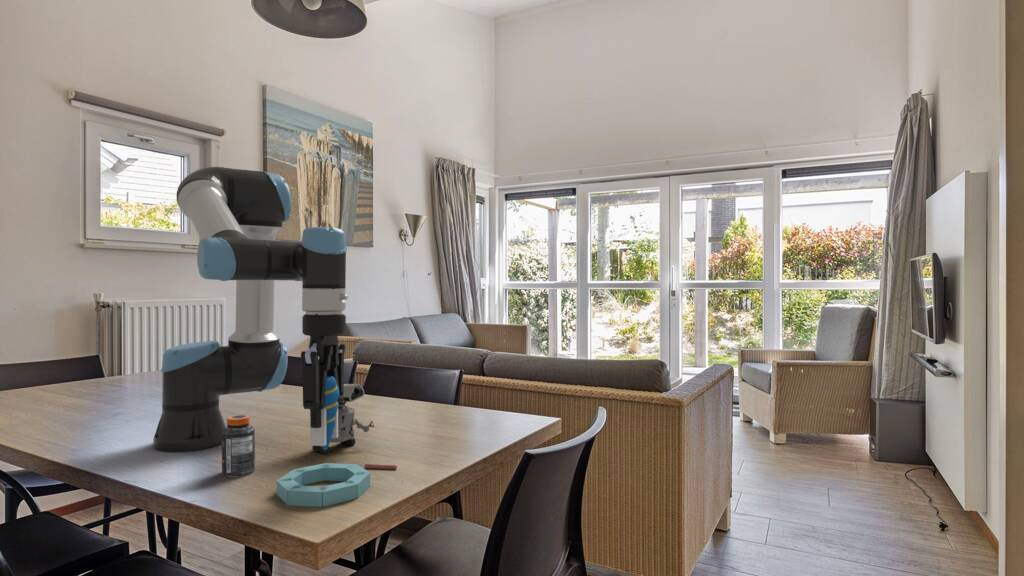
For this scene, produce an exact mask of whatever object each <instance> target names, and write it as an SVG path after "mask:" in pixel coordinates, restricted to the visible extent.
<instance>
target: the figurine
mask: <svg viewBox="0 0 1024 576" xmlns="http://www.w3.org/2000/svg"><path fill="white" fill-rule="evenodd" d="M340 397H344V400H343V401H342V402H340V401H337V402H338V438H331V440H330V443H336V444H337V443H340V445H347V446H350V447H351V446H355V444H356V438H355V431H354V426H356V428H357V429H361V430H362V431H363V432H364V433H368V432H369V431H370V428H375V426H374V421H373V420H371V422H370V423H369V424H368V425H365V424H363V423H362V422H360V421H359V420H358V418H355V411H356V410H355V408H353V407H350V406H349V405H347V402H348V403H349V402H350V403H352V402H354V401H357V400H359V399H362V398H364V397H365V389H364V388H363V387H362V385H361V384H360V383H344V394H343V396H340ZM311 448H312V451H314V453H321V454H324V455H325V454H329V452H331V450H330V445H329V446H328V449H327V450H323V448H322V446H313V445H312V447H311Z"/></svg>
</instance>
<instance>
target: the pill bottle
mask: <svg viewBox="0 0 1024 576" xmlns="http://www.w3.org/2000/svg"><path fill="white" fill-rule="evenodd" d="M255 433H256V431H255V428H254V426H253V425H250V415H249V414H235V415H230V416H228V417H227V418H226V428H225V429H224V430H223V431H222V443H221V474H222V476H223V477H226V478H238V477H239V478H240V477H246V476H248V475H251V474H252V473H254V472H255V471H256V470H255V469H256V438H255V435H256V434H255Z"/></svg>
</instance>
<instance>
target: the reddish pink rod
mask: <svg viewBox="0 0 1024 576" xmlns="http://www.w3.org/2000/svg"><path fill="white" fill-rule="evenodd" d="M363 467H364V469H378V470H397V468H398V465H396V464H377V463H376V464H373V463H365V464H364V466H363Z"/></svg>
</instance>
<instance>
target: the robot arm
mask: <svg viewBox="0 0 1024 576" xmlns="http://www.w3.org/2000/svg"><path fill="white" fill-rule="evenodd" d="M176 202H177V205H178V208H179V210H180V211H181V213H182V214H183V215H184V216H185V217H186V218H188V220H189V219H190V221H191V223H192V224H193V226H194V229H195V230H196V233H197V235H198V236H199V238H200V241H199V243H198V246H197V254H196V255H197V256H196V257H197V258H196V259H197V261H196V263H197V269H198V273H199V275H200V277H202V278H203V279H204V280H216V281H222V282H227V281H235V283H236V285H235V288H236V290H235V329H234V330H235V331H234V332H233V333H232V334H231V335H230V336H228V340H227V342H228V343H227V344H228V345H225V346H222V345H221V344H220V343H219V341H217V340H205V341H196V342H188V343H185V344H180V345H176V346H173V347H170V348H168V349H166V350H165V351H164V353H163V355H162V360H161V361H162V362H161V364H162V365H161V369H160V371H161V373H162V374H161V375H162V377H161V378H162V381H161V382H162V387H161V388H162V390H161V392H162V393H161V394H162V395H161V396H162V397H161V398H162V399H161V405H162V406H161V407H162V409H161V416H160V418H159V421H158V423H157V427H156V429H155V430H156V431H155V434H154V435H153V439H152V440H153V443H152V444H153V446H152V448H153V449H154V450H156V451H158V452H167V453H169V452H170V453H171V452H172V453H177V452H178V453H179V452H180V453H181V452H188V451H189V452H192V451H198V450H203V449H208V448H212V447H216V446H219V445H222V431H223V430H224V429H225V428H226V427H227V425H226V423H225V421H224V418H223V415H222V412H221V409H220V396H224V395H225V396H226V395H233V394H241V393H242V394H243V393H253V392H258V393H261V392H263V391H269V390H274V389H276V388H278V387H279V386H280V385H281V384H282V383H283V381H284V379H285V376H286V373H287V370H288V361H289V360H288V357H289V356H288V355H287V354H288V349H287V346H286V345H285V344H284V343H282V342H281V341H280V336H279V335H278V334H277V333H276V332H275V330H274V317H275V316H274V315H275V314H274V312H275V311H274V310H275V306H274V305H275V304H274V303H275V299H274V298H275V281H293V282H294V281H295V282H302V283H301V287H302V297H301V298H302V299H301V300H302V301H301V311H303V312H305V314H303V316H302V317H301V319H302V320H301V321H302V323H301V324H302V325H301V326H302V330H301V331H302V334H303V335H304V336H309V337H310V339H309V344H308V350H307V351H305V350H302V351H301V353H300V358H301V359H300V360H301V365H302V407H303V409H304V410H309V446H312V447H313V446H325V445H326V408H324V399H325V383H326V377H327V376H333V377H334V378H335V380H336V383H337V385H338V388H339V398H338V400H337V401H340V402H342V401H343V400H344V397H340V396H343V394H344V384H345V381H344V380H345V379H344V378H345V376H344V375H345V370H344V369H345V353H346V344H345V343H344V344H343V343H339V342H340V341H339V338H338V336H339V335H340V336H341V335H344V334H345V333H346V331H347V324H346V323H347V319H346V317H347V315H345V313H343V312H345V310H346V300H348V295H347V294H346V285H347V283H346V281H347V280H346V279H347V278H346V276H347V275H346V273H347V271H346V268H347V263H346V261H347V259H346V258H347V250H348V249H347V245H346V234H345V231H344V230H342V229H341V228H337V227H330V226H329V227H327V226H325V227H324V226H318V227H317V226H312V227H311V226H310V227H306V228H303V230H302V235H301V241H292V240H291V241H289V240H276V235H277V234H278V233H279V232H280V231H282V229H283V223H285V222H288V221H289V220H290V218H291V213H292V195H291V191H290V187H289V185H288V183H287V181H286V179H285V178H284V177H283V176H281V175H280V174H277V173H273V172H267V171H259V170H258V171H257V170H248V169H239V168H230V167H224V166H208V167H203V168H200V169H198V170H197V169H196V170H195V171H193V172H191V173H189V174H188V175H186V176H185V177H184V179H182V180H181V181H180V183H179V185H178V187H177V190H176ZM337 403H338V402H337ZM335 419H336V422H335V427H334V430H333V435H332V438H338V409H337V412H336V415H335Z"/></svg>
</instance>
